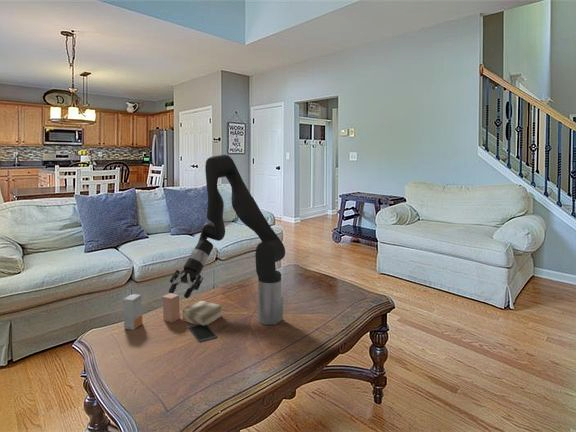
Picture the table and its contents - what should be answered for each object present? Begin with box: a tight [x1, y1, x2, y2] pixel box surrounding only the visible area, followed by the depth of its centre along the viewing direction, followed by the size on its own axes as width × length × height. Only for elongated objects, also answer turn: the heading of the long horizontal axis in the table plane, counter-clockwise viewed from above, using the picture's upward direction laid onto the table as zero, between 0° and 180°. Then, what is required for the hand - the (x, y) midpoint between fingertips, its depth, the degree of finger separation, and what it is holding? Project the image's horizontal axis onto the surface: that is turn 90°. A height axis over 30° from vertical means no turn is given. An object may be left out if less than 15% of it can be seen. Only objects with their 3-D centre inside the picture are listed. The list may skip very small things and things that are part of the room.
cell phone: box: [187, 324, 218, 343], centre depth 142 cm, size 7×14×1 cm, turn 32°
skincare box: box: [122, 293, 143, 331], centre depth 146 cm, size 6×4×12 cm
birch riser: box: [182, 300, 223, 326], centre depth 154 cm, size 11×11×5 cm
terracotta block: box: [162, 293, 181, 323], centre depth 153 cm, size 4×4×10 cm
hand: (177, 295), depth 156 cm, fingers open, 8 cm apart
